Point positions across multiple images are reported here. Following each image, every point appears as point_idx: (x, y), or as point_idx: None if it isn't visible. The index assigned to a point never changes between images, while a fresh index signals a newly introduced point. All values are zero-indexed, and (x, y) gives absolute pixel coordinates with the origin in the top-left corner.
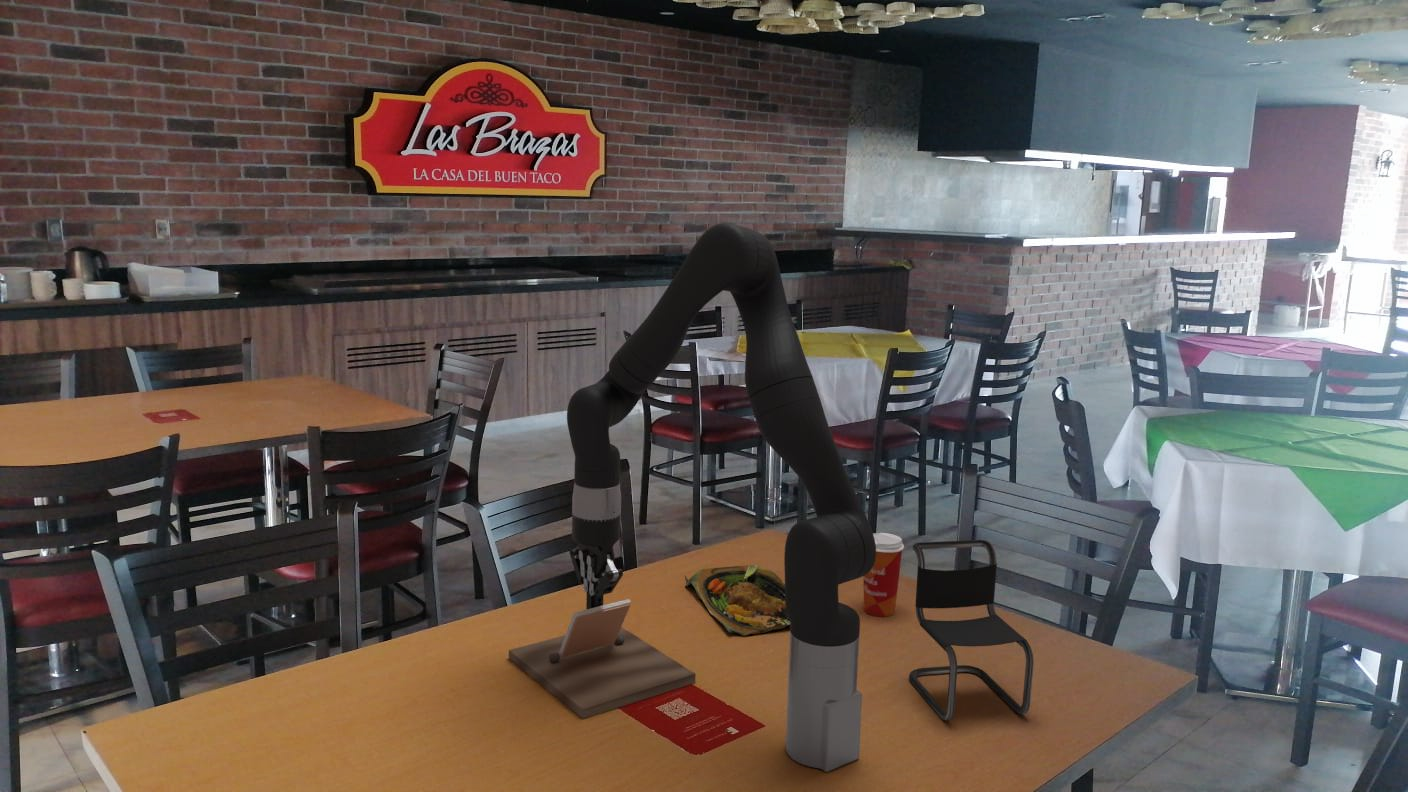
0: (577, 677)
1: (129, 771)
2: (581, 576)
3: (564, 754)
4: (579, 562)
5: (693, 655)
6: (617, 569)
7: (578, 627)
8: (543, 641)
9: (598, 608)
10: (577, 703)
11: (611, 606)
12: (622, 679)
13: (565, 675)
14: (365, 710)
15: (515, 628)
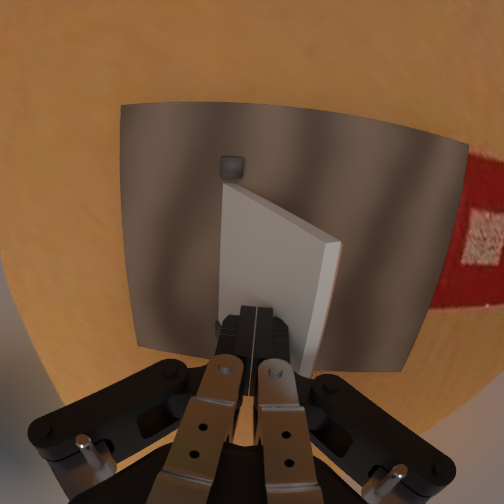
0: None
1: None
2: (175, 427)
3: (426, 402)
4: (120, 451)
5: (363, 43)
6: (433, 494)
7: None
8: (130, 287)
9: (307, 368)
10: (382, 370)
11: (321, 326)
12: (385, 274)
13: None
14: None
15: (46, 262)
